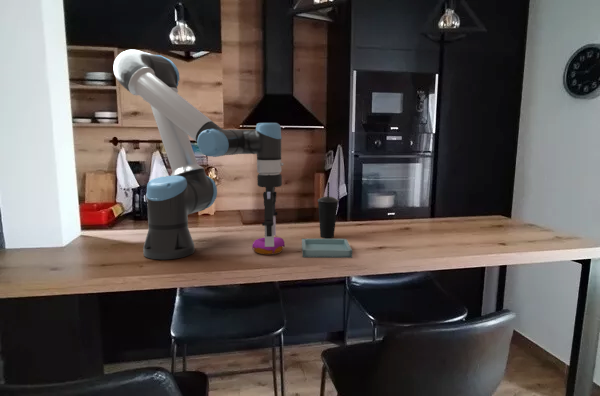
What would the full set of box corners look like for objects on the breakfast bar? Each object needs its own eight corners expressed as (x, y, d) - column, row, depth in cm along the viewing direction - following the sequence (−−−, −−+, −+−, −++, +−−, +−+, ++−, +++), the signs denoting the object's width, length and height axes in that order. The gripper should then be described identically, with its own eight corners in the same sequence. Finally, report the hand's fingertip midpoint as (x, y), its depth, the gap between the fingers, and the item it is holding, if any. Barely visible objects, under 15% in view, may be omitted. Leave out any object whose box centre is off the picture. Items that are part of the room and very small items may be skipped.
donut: (272, 246, 140) (272, 232, 139) (291, 253, 132) (291, 238, 132) (246, 251, 133) (246, 237, 133) (264, 258, 126) (264, 244, 125)
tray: (302, 257, 127) (303, 250, 127) (301, 244, 141) (301, 238, 141) (352, 257, 128) (352, 250, 127) (346, 245, 141) (346, 238, 141)
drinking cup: (336, 240, 148) (337, 184, 144) (315, 238, 149) (316, 183, 146) (338, 235, 155) (340, 181, 152) (318, 233, 157) (319, 180, 153)
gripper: (280, 177, 117) (281, 251, 120) (282, 170, 141) (283, 231, 145) (253, 178, 117) (255, 251, 120) (260, 170, 141) (261, 231, 144)
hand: (270, 240), depth 132 cm, fingers open, 13 cm apart
